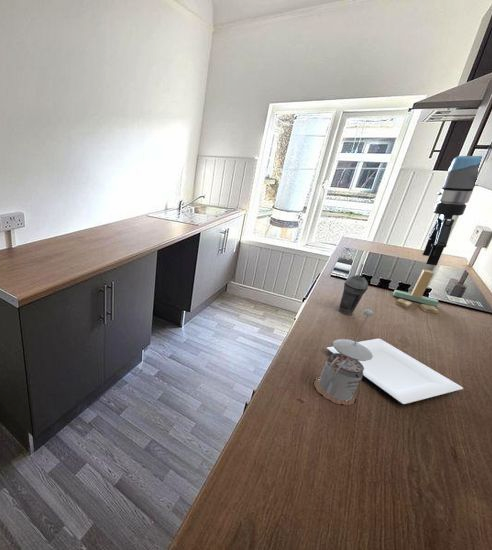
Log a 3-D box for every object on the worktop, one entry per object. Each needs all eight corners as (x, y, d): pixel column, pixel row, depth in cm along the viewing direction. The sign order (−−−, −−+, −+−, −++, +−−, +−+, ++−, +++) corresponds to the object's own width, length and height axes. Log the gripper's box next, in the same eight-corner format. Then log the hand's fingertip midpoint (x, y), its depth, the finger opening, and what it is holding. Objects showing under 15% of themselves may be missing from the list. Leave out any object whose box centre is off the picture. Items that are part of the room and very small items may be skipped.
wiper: (434, 304, 125) (451, 274, 119) (436, 307, 123) (452, 277, 117) (392, 294, 133) (406, 265, 127) (392, 296, 130) (406, 267, 125)
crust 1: (410, 305, 124) (412, 302, 123) (407, 308, 122) (408, 304, 121) (398, 301, 127) (400, 298, 126) (395, 303, 125) (396, 300, 124)
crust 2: (431, 309, 121) (433, 305, 121) (436, 313, 118) (438, 310, 117) (419, 306, 123) (421, 303, 122) (424, 311, 119) (426, 308, 119)
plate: (400, 409, 74) (403, 403, 73) (324, 352, 93) (326, 347, 92) (460, 393, 79) (464, 387, 78) (377, 342, 99) (379, 337, 98)
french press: (364, 396, 77) (405, 315, 66) (340, 414, 71) (380, 328, 61) (325, 372, 85) (356, 296, 74) (301, 387, 79) (331, 306, 69)
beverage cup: (337, 314, 115) (356, 267, 106) (332, 305, 121) (349, 260, 113) (359, 318, 113) (380, 270, 104) (352, 309, 119) (371, 263, 111)
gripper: (432, 198, 115) (413, 250, 123) (441, 205, 97) (418, 266, 105) (460, 200, 111) (438, 254, 119) (475, 208, 93) (448, 271, 101)
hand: (429, 260), depth 112 cm, fingers open, 13 cm apart
